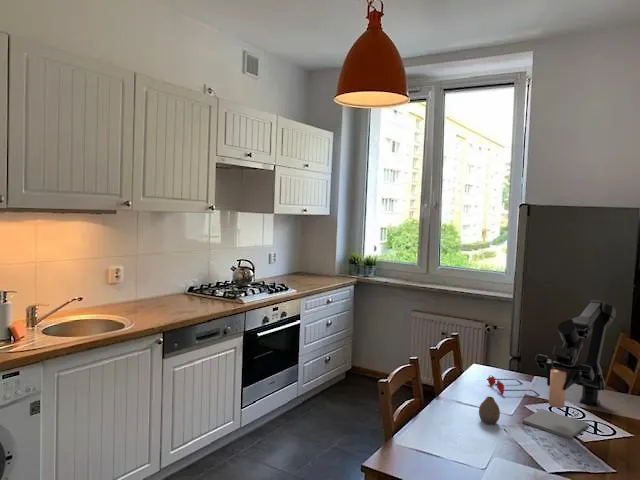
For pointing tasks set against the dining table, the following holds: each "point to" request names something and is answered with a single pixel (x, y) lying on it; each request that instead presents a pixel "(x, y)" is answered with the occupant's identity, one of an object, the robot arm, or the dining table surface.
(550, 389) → the tan cylinder
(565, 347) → the robot arm
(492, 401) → the vase
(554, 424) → the tile
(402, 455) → the dining table surface
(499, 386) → the glasses
